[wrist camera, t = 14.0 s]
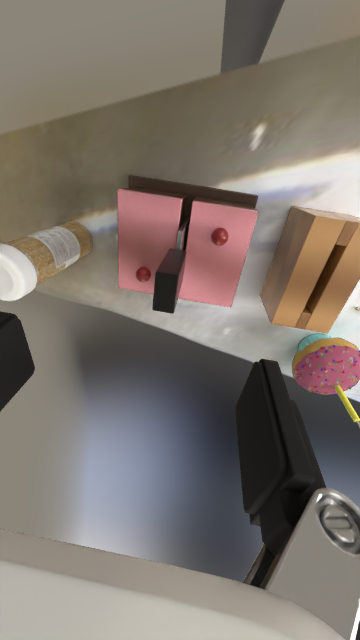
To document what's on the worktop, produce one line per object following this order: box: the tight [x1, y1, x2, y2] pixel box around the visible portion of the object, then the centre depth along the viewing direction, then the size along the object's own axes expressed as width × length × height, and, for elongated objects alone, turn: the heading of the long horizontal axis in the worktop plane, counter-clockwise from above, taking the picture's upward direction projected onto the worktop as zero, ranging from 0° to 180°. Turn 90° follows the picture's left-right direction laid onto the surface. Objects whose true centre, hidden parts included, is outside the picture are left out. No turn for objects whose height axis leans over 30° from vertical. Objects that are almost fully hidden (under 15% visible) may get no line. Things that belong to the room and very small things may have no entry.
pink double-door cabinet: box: [117, 175, 258, 307], centre depth 26 cm, size 12×14×7 cm
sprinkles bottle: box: [0, 221, 92, 301], centre depth 25 cm, size 5×5×13 cm
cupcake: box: [292, 334, 360, 427], centre depth 29 cm, size 9×8×12 cm
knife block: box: [260, 206, 360, 333], centre depth 25 cm, size 11×6×7 cm, turn 173°
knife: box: [153, 217, 190, 314], centre depth 22 cm, size 6×2×14 cm, turn 173°
